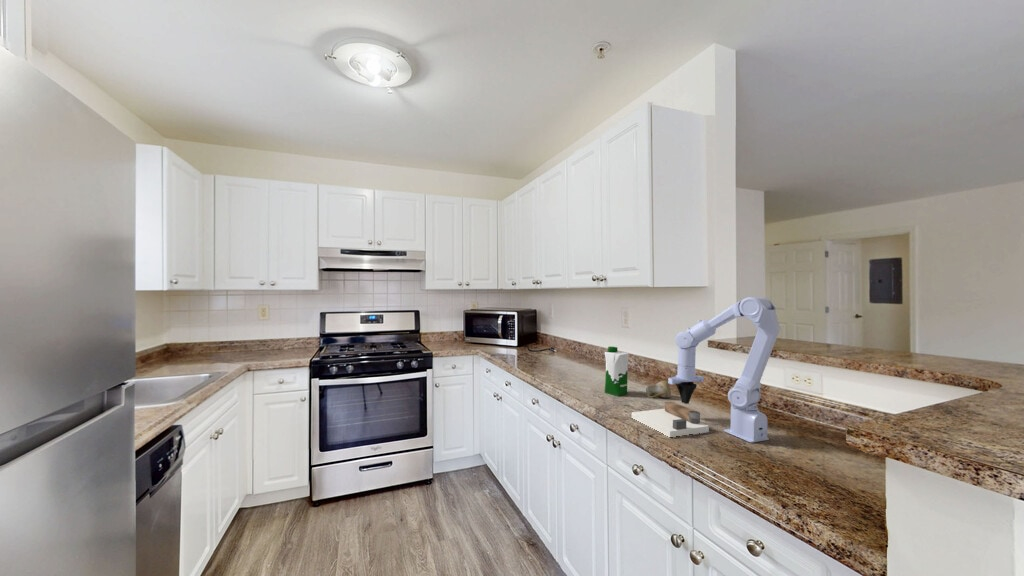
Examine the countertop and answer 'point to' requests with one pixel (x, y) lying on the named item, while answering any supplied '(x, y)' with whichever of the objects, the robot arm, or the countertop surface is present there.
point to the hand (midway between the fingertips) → (685, 402)
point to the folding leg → (682, 412)
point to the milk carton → (616, 372)
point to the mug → (659, 390)
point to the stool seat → (669, 423)
